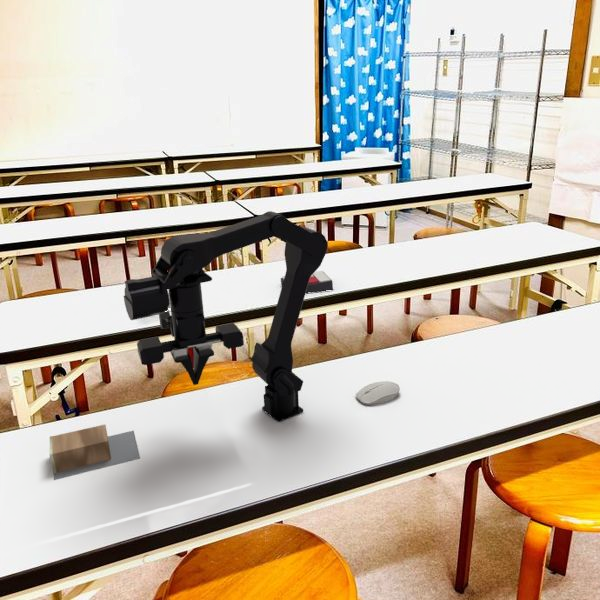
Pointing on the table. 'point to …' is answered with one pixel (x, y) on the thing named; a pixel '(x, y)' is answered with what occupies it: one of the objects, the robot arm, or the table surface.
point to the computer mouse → (378, 392)
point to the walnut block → (79, 448)
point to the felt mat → (120, 450)
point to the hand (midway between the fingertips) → (195, 383)
